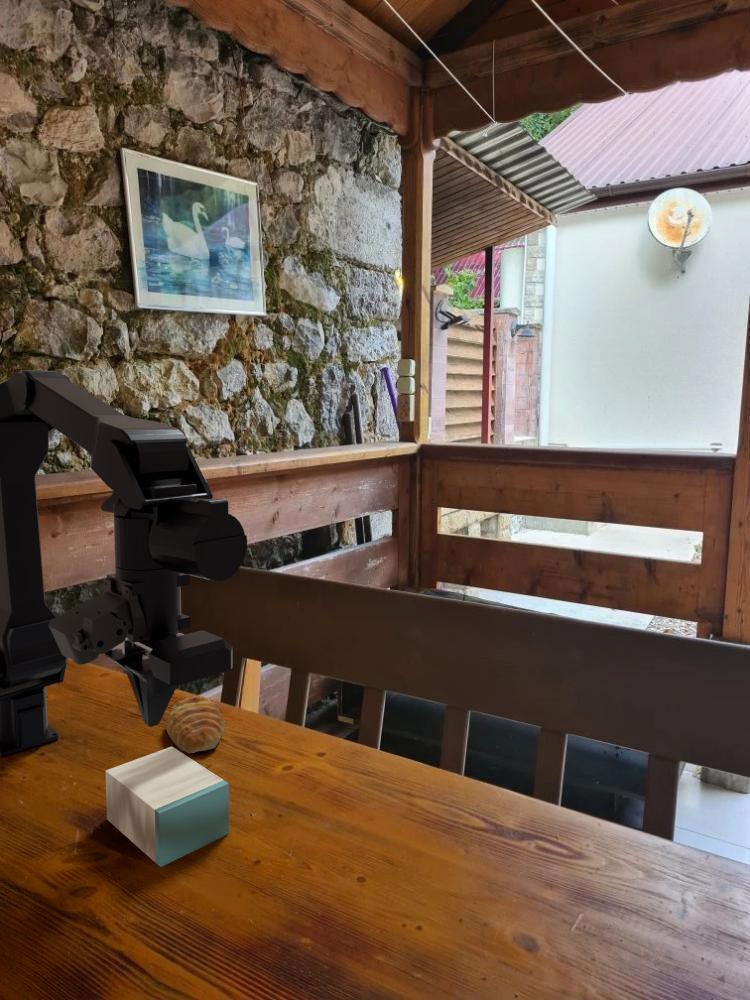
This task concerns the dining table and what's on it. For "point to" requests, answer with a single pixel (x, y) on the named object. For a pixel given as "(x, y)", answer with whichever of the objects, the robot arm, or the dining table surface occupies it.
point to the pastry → (195, 724)
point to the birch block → (167, 804)
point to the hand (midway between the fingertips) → (152, 724)
